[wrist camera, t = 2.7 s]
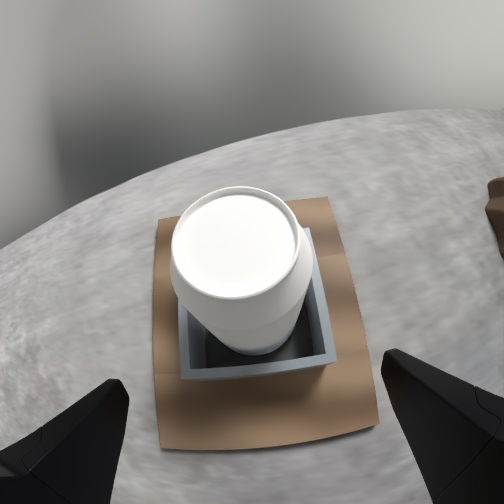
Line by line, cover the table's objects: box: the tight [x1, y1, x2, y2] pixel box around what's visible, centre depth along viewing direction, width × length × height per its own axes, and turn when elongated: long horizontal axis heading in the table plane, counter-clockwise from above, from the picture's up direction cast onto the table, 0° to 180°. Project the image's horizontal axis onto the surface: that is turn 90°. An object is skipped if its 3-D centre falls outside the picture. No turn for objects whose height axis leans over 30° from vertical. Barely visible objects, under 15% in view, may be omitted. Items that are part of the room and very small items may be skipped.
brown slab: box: [153, 197, 379, 450], centre depth 20 cm, size 20×16×1 cm
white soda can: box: [170, 187, 313, 356], centre depth 15 cm, size 6×6×12 cm
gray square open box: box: [178, 227, 337, 381], centre depth 19 cm, size 9×9×4 cm
